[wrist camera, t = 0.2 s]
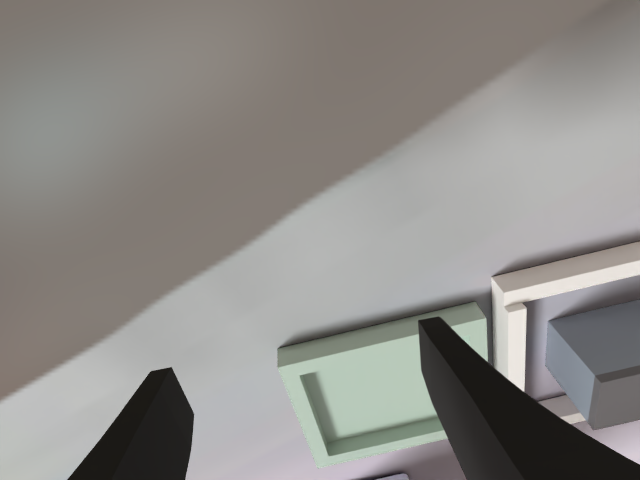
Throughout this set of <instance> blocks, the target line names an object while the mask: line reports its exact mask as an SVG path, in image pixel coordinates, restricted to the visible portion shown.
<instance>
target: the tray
mask: <svg viewBox="0 0 640 480" xmlns="http://www.w3.org/2000/svg"><path fill="white" fill-rule="evenodd" d="M437 316H439V317H441V318H442V319H443V320H444V321H445V322H446V323H447V324H448V325H449V326H450V327H451V328H452V329H453V330H454V331H455V332H456V333H457V334H458V335H459V336H460V337H461V338H462V339H463V340H464V341H465V342H466V343H467V344H468V345H469V346H471V347H472V348H473V349H474V350H475V351H476V352H477V353H478V354H479V355H480V356H481V357H483V358H484V359H485V360H486V361H487V362H488V351H487V323H486V317H485V315H484V314H483V312H482V311H481V309H480V308H479V306H478V305H477V303H476V302H471V303H467V304H462V305H458V306H454V307H450V308H446V309H441V310H437V311H433V312H429V313H425V314H421V315H416V316H412V317H408V318H404V319H400V320H395V321H391V322H387V323H383V324H379V325H375V326H370V327H366V328H362V329H358V330H354V331H350V332H345V333H341V334H337V335H333V336H329V337H324V338H320V339H316V340H312V341H308V342H304V343H299V344H295V345H291V346H287V347H283V348H278V370H279V372H280V375H281V377H282V380H283V382H284V385H285V387H286V390H287V392H288V395H289V398H290V400H291V403H292V405H293V408H294V410H295V413H296V415H297V418H298V420H299V423H300V425H301V428H302V430H303V433H304V435H305V438H306V440H307V443H308V445H309V448H310V450H311V453H312V456H313V458H314V461H315V463H316V466H317V468H322V467H326V466H331V465H335V464H339V463H344V462H348V461H352V460H357V459H361V458H366V457H370V456H374V455H379V454H383V453H387V452H392V451H396V450H400V449H405V448H409V447H414V446H418V445H422V444H427V443H431V442H435V441H440V440H444V439H448V437H447V435H446V433H445V431H444V429H443V426H442V424H441V422H440V420H439V418H438V415H437V413H436V411H435V409H434V407H433V404H432V402H431V399H430V396H429V393H428V390H427V387H426V384H425V381H424V378H423V375H422V372H421V360H420V345H419V329H418V320H422V319H427V318H432V317H437Z"/></svg>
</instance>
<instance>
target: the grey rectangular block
mask: <svg viewBox="0 0 640 480" xmlns="http://www.w3.org/2000/svg"><path fill="white" fill-rule="evenodd" d="M545 366H546V367H547V369H548V370H549V371H550V373H551V374H552V375H553V377H554V378H555V379H556V381H557V382H558V383H559V385H560V386H561V387H562V389H563V390H564V391H565V393H566V394H567V395H568V397H569V398H570V400H571V401H572V402H573V404H574V405H575V406H576V408H577V409H578V410H579V412H580V413H581V414H582V416H583V417H584V418H585V420H586V421H587V422H588V424H589V425H590V426H591V428H592V429H593V430H597V429H601V428H606V427H610V426H614V425H619V424H623V423H628V422H632V421H637V420H640V299H639V300H635V301H630V302H626V303H622V304H618V305H614V306H609V307H605V308H601V309H597V310H592V311H588V312H584V313H580V314H575V315H571V316H567V317H563V318H559V319H554V320H550V321H548V329H547V345H546V361H545Z"/></svg>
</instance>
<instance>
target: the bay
mask: <svg viewBox="0 0 640 480" xmlns="http://www.w3.org/2000/svg"><path fill="white" fill-rule="evenodd" d="M636 275H640V241H639V242H635V243H631V244H627V245H622V246H618V247H614V248H610V249H606V250H602V251H598V252H593V253H589V254H585V255H581V256H577V257H573V258H568V259H564V260H560V261H556V262H552V263H548V264H544V265H539V266H535V267H531V268H527V269H523V270H519V271H515V272H510V273H506V274H502V275H498V276H494V277H491V282H492V320H493V359H494V368H495V369H496V370H497V371H499V372H500V373H501V374H502V375H503V376H505V377H506V378H507V379H508V380H510V381H511V382H512V383H513V384H515V385H516V386H517V387H518V388H520V389H521V390H522V391H524V386H525V350H526V314H527V308H526V307H525V306H524V305H523V302H527V301H531V300H535V299H539V298H544V297H548V296H552V295H556V294H560V293H565V292H569V291H573V290H577V289H581V288H586V287H590V286H594V285H598V284H602V283H607V282H611V281H615V280H619V279H623V278H628V277H632V276H636ZM538 403H540V404H541V405H542V406H544V407H545V408H547V409H548V410H550V411H551V412H553V413H554V414H556V415H557V416H558V417H560V418H561V419H563V420H565V421H566V422H568V423H569V424H573V423H577V422H582V421H586V420H585V418H584V417H583V416H582V414H581V413H580V412H579V410H578V409H577V408H576V406H575V405H574V404H573V402H572V401H571V400H570V398H569V397H568V395H564V396H560V397H556V398H551V399H547V400H543V401H538Z"/></svg>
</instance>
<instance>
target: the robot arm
mask: <svg viewBox="0 0 640 480" xmlns="http://www.w3.org/2000/svg"><path fill="white" fill-rule="evenodd" d="M418 329H419V345H420V360H421V372H422V375H423V378H424V381H425V384H426V387H427V390H428V393H429V396H430V399H431V402H432V404H433V407H434V409H435V411H436V413H437V415H438V418H439V420H440V422H441V424H442V426H443V429H444V431H445V433H446V435H447V437H448V440H449V442H450V444H451V446H452V448H453V450H454V453H455V455H456V457H457V459H458V461H459V463H460V466H461V468H462V470H463V472H464V474H465V476H466V479H467V480H640V465H639V464H637V463H636V462H634V461H632V460H630V459H628V458H626V457H624V456H623V455H621V454H619V453H617V452H616V451H614V450H612V449H611V448H609V447H607V446H605V445H604V444H602V443H600V442H599V441H597V440H595V439H593V438H592V437H590V436H588V435H587V434H585V433H583V432H582V431H580V430H578V429H577V428H575V427H574V426H572V425H571V424H569V423H568V422H566V421H565V420H563V419H561V418H560V417H558V416H557V415H556V414H554V413H553V412H551V411H550V410H548V409H547V408H545V407H544V406H542V405H541V404H540V403H538V402H537V401H536V400H534V399H533V398H531V397H530V396H529V395H527V394H526V393H525V392H524V391H522V390H521V389H520V388H518V387H517V386H516V385H515V384H513V383H512V382H511V381H510V380H508V379H507V378H506V377H505V376H503V375H502V374H501V373H500V372H499V371H497V370H496V369H495V368H494V367H493V366H492V365H491V364H489V363H488V362H487V361H486V360H485V359H484V358H483V357H481V356H480V355H479V354H478V353H477V352H476V351H475V350H474V349H473V348H472V347H471V346H469V345H468V344H467V343H466V342H465V341H464V340H463V339H462V338H461V337H460V336H459V335H458V334H457V333H456V332H455V331H454V330H453V329H452V328H451V327H450V326H449V325H448V324H447V323H446V322H445V321H444V320H443V319H442V318H441V317H439V316H437V317H432V318H427V319H422V320H418ZM193 421H194V413H193V411H192V409H191V407H190V404H189V402H188V400H187V398H186V396H185V394H184V392H183V390H182V388H181V386H180V384H179V382H178V380H177V377H176V375H175V373H174V371H173V369H172V367H171V368H165V369H160V370H155V371H151V372H150V373H149V374H148V376H147V377H146V378H145V380H144V381H143V382H142V384H141V385H140V387H139V388H138V389H137V391H136V392H135V393H134V395H133V396H132V397H131V399H130V400H129V402H128V403H127V404H126V406H125V407H124V408H123V410H122V411H121V412H120V414H119V415H118V417H117V418H116V419H115V421H114V422H113V423H112V425H111V426H110V427H109V428H108V430H107V431H106V432H105V434H104V435H103V436H102V438H101V439H100V440H99V442H98V443H97V444H96V445H95V447H94V448H93V449H92V450H91V451H90V453H89V454H88V455H87V456H86V458H85V459H84V460H83V461H82V462H81V464H80V465H79V466H78V467H77V469H76V470H75V471H74V472H73V474H72V475H71V476H70V477H69V478H68V479H67V480H185V477H186V472H187V467H188V463H189V458H190V452H191V445H192V435H193ZM376 480H409V478H408V475H406V474H398V475H393V476H389V477H384V478H380V479H376Z"/></svg>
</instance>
